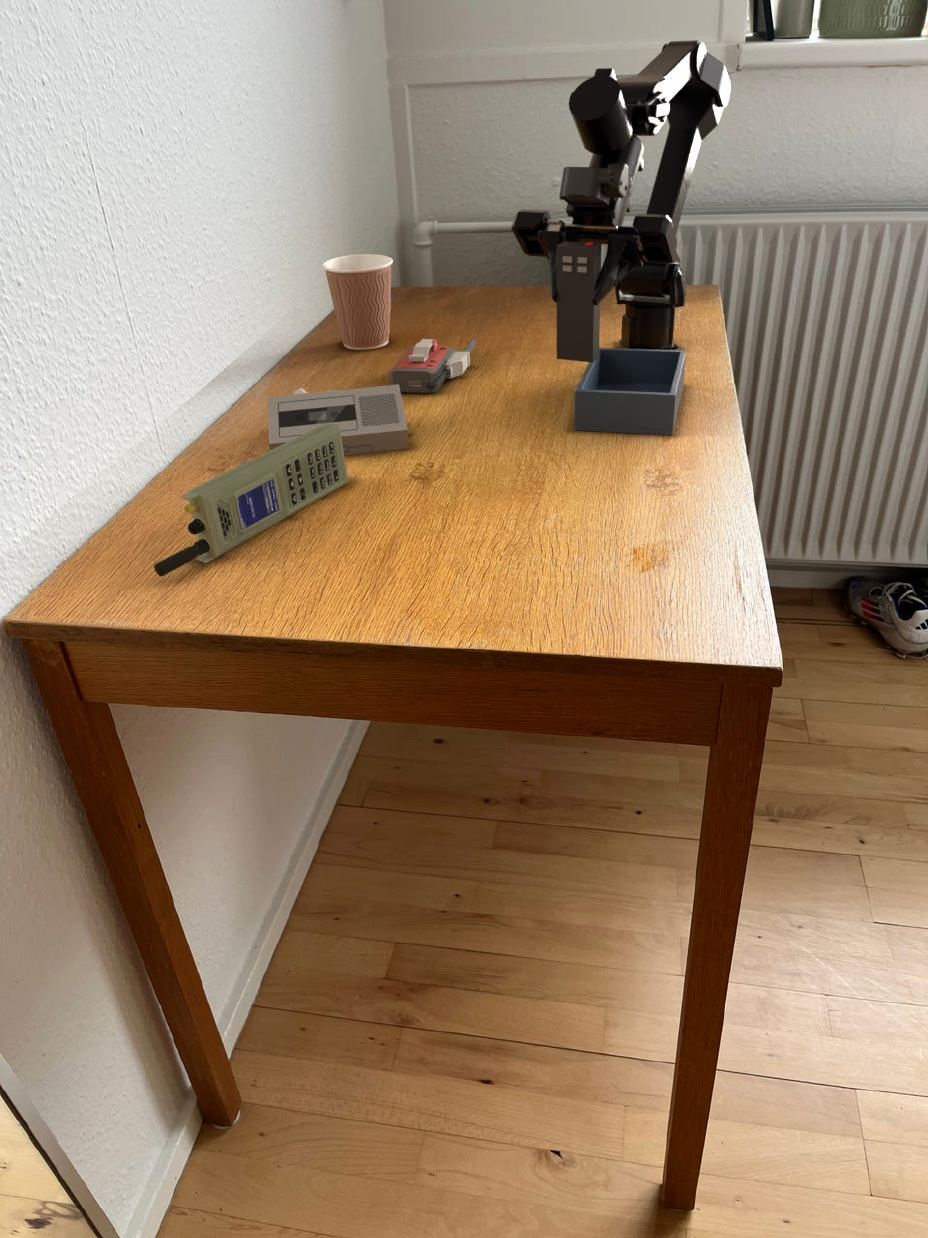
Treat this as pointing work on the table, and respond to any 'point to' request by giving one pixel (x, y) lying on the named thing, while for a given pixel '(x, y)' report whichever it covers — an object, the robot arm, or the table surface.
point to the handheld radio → (260, 494)
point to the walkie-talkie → (429, 366)
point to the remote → (577, 301)
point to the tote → (631, 391)
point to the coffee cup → (361, 298)
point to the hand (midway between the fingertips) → (574, 301)
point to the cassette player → (343, 418)
